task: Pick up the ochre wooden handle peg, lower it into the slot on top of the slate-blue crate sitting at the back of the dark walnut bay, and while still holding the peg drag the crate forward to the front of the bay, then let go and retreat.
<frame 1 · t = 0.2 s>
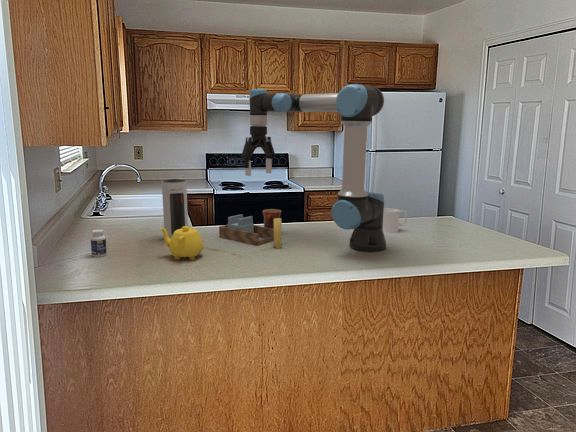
hand: (258, 174, 216), 28 cm above the countertop, fingers open, 13 cm apart
pill bottle: (99, 255, 187), on the countertop
teapot: (181, 257, 186), on the countertop
bay: (247, 241, 209), on the countertop
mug: (271, 233, 224), on the countertop
peg: (277, 247, 200), on the countertop
speaker: (176, 239, 213), on the countertop
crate: (240, 227, 210), point 6 cm above the countertop, slide at 0.0 cm
cup: (393, 231, 232), on the countertop
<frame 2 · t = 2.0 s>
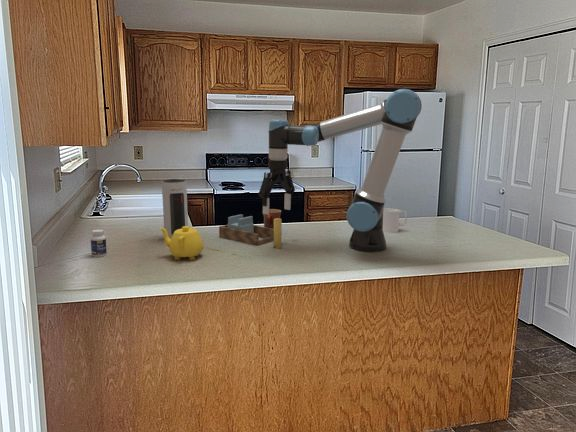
hand: (276, 211, 197), 15 cm above the countertop, fingers open, 13 cm apart
nothing on the countertop moved.
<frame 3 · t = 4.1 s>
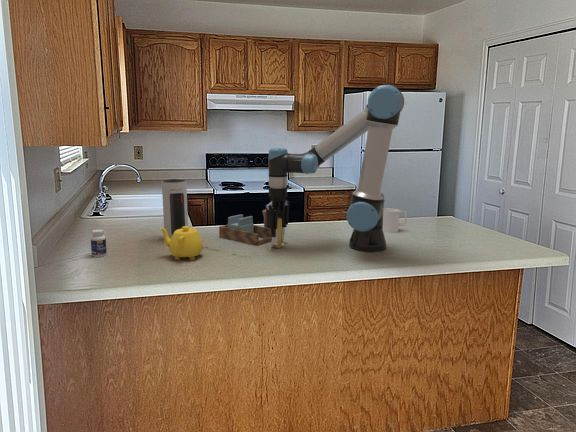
hand: (277, 243, 200), 2 cm above the countertop, fingers closed on peg, 3 cm apart
peg: (277, 247, 200), on the countertop, touching gripper
everything else where it was.
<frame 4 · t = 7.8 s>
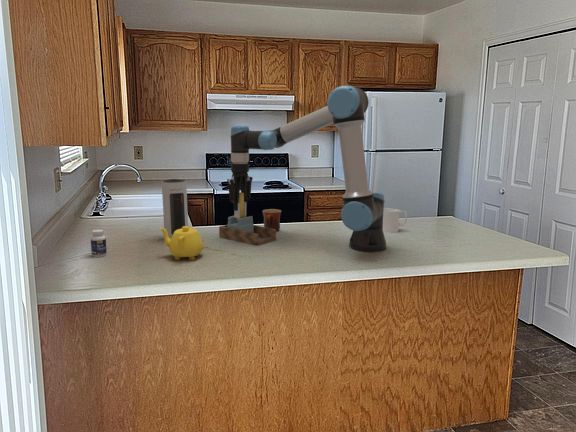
hand: (240, 217, 210), 10 cm above the countertop, fingers closed on peg, 3 cm apart
peg: (240, 220, 210), point 9 cm above the countertop, touching gripper
everything else where it was.
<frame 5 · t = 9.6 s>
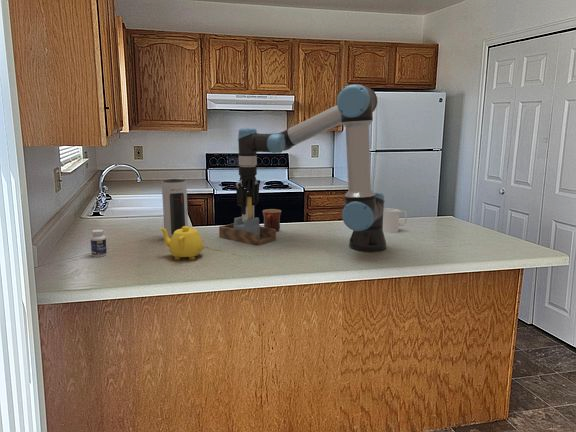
hand: (248, 220, 207), 9 cm above the countertop, fingers closed on peg, 3 cm apart
peg: (248, 225, 208), point 7 cm above the countertop, touching gripper
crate: (246, 228, 208), point 6 cm above the countertop, slide at 3.7 cm, touching gripper
everything else where it was.
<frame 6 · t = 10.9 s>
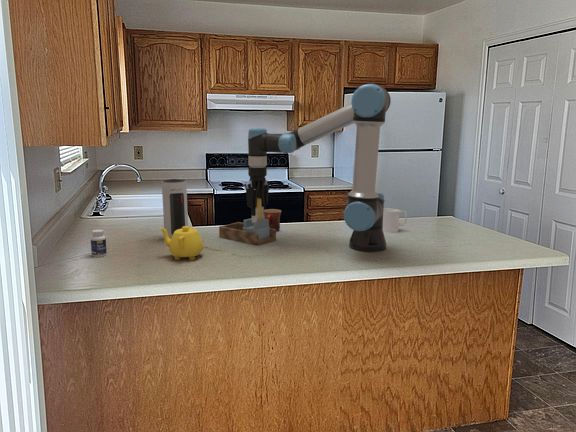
hand: (257, 222, 204), 9 cm above the countertop, fingers closed on peg, 3 cm apart
peg: (257, 226, 204), point 7 cm above the countertop, touching gripper
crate: (256, 230, 205), point 6 cm above the countertop, slide at 9.1 cm
everything else where it was.
when the fingers open (9 cm above the countertop, at t = 11.9 s): peg stays where it is, resting on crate.
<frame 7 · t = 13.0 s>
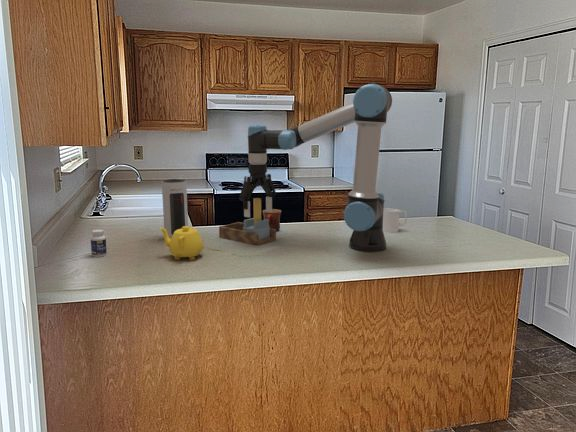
hand: (258, 214, 203), 13 cm above the countertop, fingers open, 13 cm apart
peg: (257, 227, 204), point 7 cm above the countertop, touching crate
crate: (256, 230, 205), point 6 cm above the countertop, slide at 9.2 cm, touching peg
everything else where it was.
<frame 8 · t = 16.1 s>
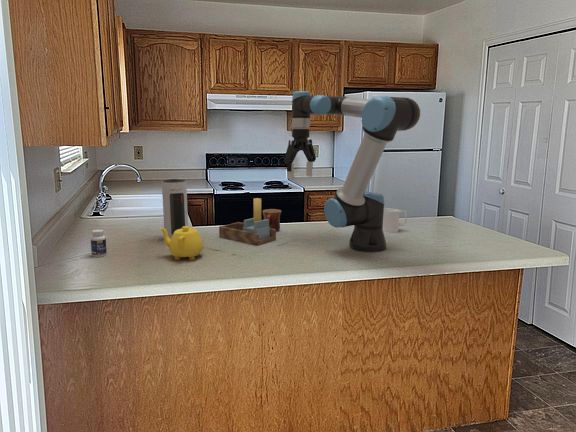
hand: (300, 177, 213), 27 cm above the countertop, fingers open, 13 cm apart
nothing on the countertop moved.
at the end: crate slide at 9.2 cm; peg inside the target area on the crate (0.7 cm from its centre), point 6.0 cm above the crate's base; the gripper is holding nothing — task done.
